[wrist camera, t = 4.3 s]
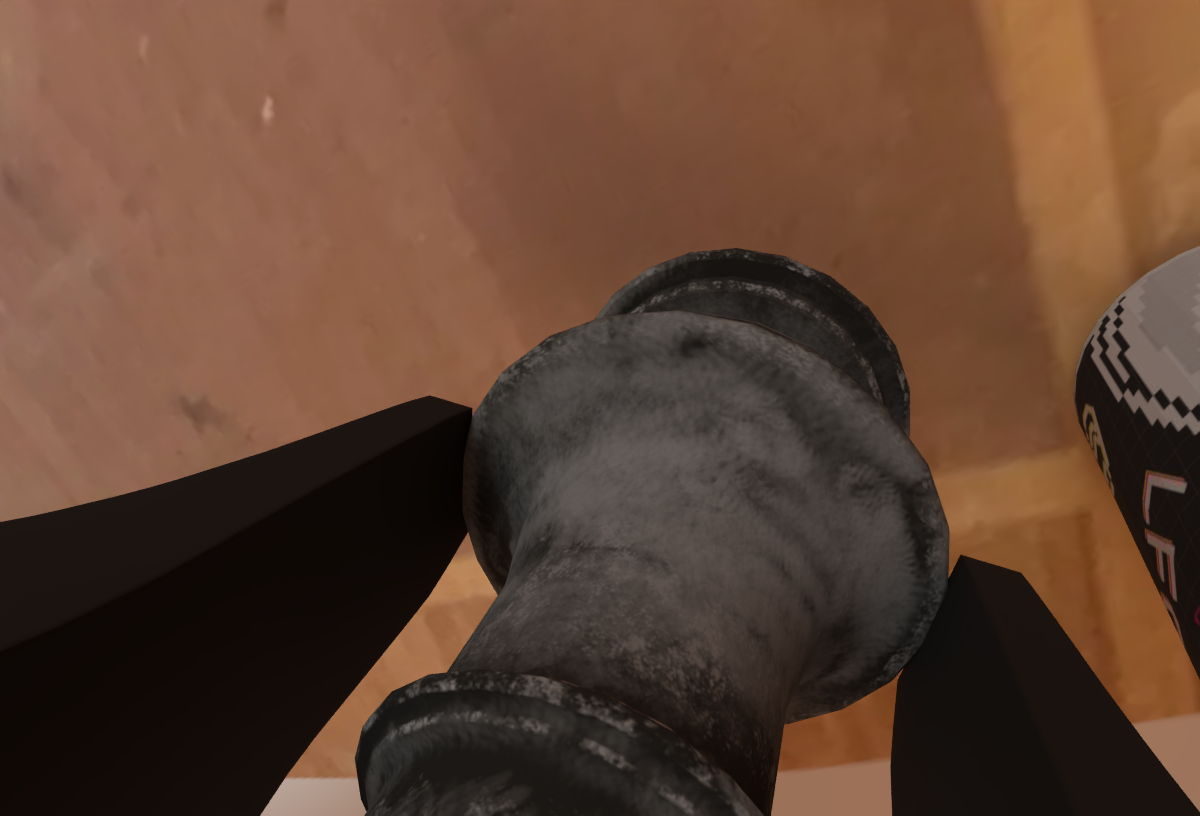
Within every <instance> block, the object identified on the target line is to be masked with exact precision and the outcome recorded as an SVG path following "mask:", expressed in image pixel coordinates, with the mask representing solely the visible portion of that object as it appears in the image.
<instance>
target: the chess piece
mask: <svg viewBox="0 0 1200 816" xmlns="http://www.w3.org/2000/svg"><path fill="white" fill-rule="evenodd" d="M909 435H910V388H909V385H908V382H907V379H906V376H905V373H904V370H903V367H902V364H901V361H900V357H899V354H898V351H897V348H896V346H895V344H894V343H893V341H892V340H891V339H890V337H889V336H888V334H887V333H886V331H885V330H884V329H883V327H882V326H881V324H880V323H879V321H878V320H877V319H876V317H875V316H874V314H873V313H872V311H871V310H870V309H869V307H868V306H866V305H865V304H864V303H863V302H861V301H860V300H859V299H858V298H856V297H855V296H854V295H853V294H851V293H850V292H849V291H848V290H847V289H845V288H844V287H843V286H842V285H840V284H839V283H838V282H837V281H835V280H834V279H833V278H832V277H831V276H828V275H826V274H824V273H822V272H819V271H817V270H815V269H813V268H810V267H808V266H806V265H804V264H801V263H799V262H797V261H795V260H792V259H790V258H788V257H786V256H781V255H775V254H769V253H762V252H756V251H750V250H744V249H738V248H733V249H723V250H712V251H702V252H691V253H687V254H685V255H682V256H679V257H677V258H674V259H671V260H669V261H666V262H664V263H661V264H658V265H656V266H653V267H650V268H648V269H647V270H645V271H644V272H643V273H641V274H640V275H639V276H637V277H636V278H634V279H633V280H632V281H630V282H629V283H628V284H626V285H625V286H624V287H622V288H621V289H620V290H618V291H617V292H616V293H615V294H614V295H613V296H612V297H611V298H610V300H609V301H608V302H607V304H606V305H605V306H604V308H603V309H602V310H601V312H600V313H599V314H598V316H597V317H596V319H595V320H594V321H591V322H588V323H585V324H582V325H579V326H577V327H574V328H571V329H568V330H565V331H562V332H560V333H557V334H554V335H551V336H549V337H548V338H547V339H545V340H544V341H543V342H541V343H540V344H539V345H537V346H536V347H535V348H533V349H532V350H531V351H529V352H528V353H527V354H525V355H524V356H523V357H521V358H520V359H519V360H517V361H516V362H515V363H513V364H512V365H511V366H509V367H508V368H507V369H505V370H504V371H503V372H502V373H501V375H500V376H499V378H498V379H497V380H496V382H495V383H494V385H493V386H492V388H491V389H490V391H489V392H488V394H487V395H486V397H485V398H484V400H483V401H482V402H481V404H480V405H479V407H478V408H477V410H476V411H475V413H474V414H473V416H472V420H471V424H470V427H469V431H468V435H467V440H466V447H465V453H464V462H463V494H462V504H463V516H464V519H465V523H466V526H467V529H468V532H469V535H470V539H471V542H472V545H473V548H474V552H475V555H476V558H477V560H478V562H479V564H480V566H481V567H482V569H483V571H484V572H485V574H486V576H487V578H488V579H489V581H490V583H491V584H492V586H493V588H494V590H495V591H496V593H497V595H498V596H497V598H496V599H495V601H494V602H493V604H492V605H491V607H490V608H489V610H488V611H487V613H486V614H485V616H484V617H483V619H482V620H481V622H480V623H479V625H478V626H477V628H476V629H475V631H474V632H473V634H472V635H471V637H470V638H469V640H468V641H467V643H466V644H465V646H464V647H463V649H462V650H461V652H460V653H459V655H458V656H457V658H456V659H455V661H454V662H453V664H452V665H451V667H450V668H449V670H448V671H447V673H439V674H430V675H427V676H425V677H423V678H420V679H418V680H416V681H414V682H412V683H410V684H407V685H405V686H403V687H401V688H399V689H397V690H394V691H392V692H391V693H390V694H389V696H388V697H387V698H386V699H385V700H384V701H383V702H382V704H381V705H380V706H379V707H378V708H377V709H376V711H375V712H374V713H373V714H372V715H371V716H370V717H369V719H368V720H367V722H366V723H365V724H364V726H363V728H362V732H361V736H360V740H359V744H358V748H357V752H356V756H355V763H356V769H357V776H358V782H359V789H360V796H361V800H362V802H363V805H364V807H365V809H366V811H367V813H366V814H365V816H771V810H772V804H773V797H774V790H775V783H776V777H777V770H778V763H779V756H780V749H781V742H782V735H783V728H784V724H789V723H793V722H797V721H800V720H804V719H808V718H812V717H816V716H819V715H823V714H827V713H831V712H834V711H838V710H841V709H844V708H846V707H847V706H849V705H851V704H853V703H854V702H856V701H858V700H860V699H861V698H863V697H865V696H867V695H868V694H870V693H872V692H874V691H875V690H877V689H879V688H881V687H882V686H884V685H886V684H888V683H889V682H891V681H892V680H893V679H894V678H895V677H896V676H897V675H898V673H899V672H900V671H901V670H902V669H903V668H904V667H905V666H906V665H907V664H908V663H909V661H910V660H911V659H912V658H913V657H914V655H915V654H916V653H917V651H918V650H919V648H920V647H921V646H922V644H923V642H924V639H925V637H926V635H927V633H928V631H929V629H930V627H931V625H932V622H933V620H934V618H935V616H936V614H937V612H938V610H939V608H940V605H941V603H942V601H943V599H944V597H945V595H946V593H947V590H948V571H949V526H948V523H947V520H946V517H945V514H944V511H943V508H942V505H941V502H940V499H939V496H938V493H937V490H936V487H935V484H934V481H933V478H932V475H931V472H930V469H929V465H928V464H927V462H926V461H925V460H924V458H923V457H922V455H921V454H920V453H919V451H918V450H917V449H916V447H915V446H914V444H913V443H912V442H911V440H910V439H909Z"/></svg>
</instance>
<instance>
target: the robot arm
mask: <svg viewBox="0 0 1200 816" xmlns="http://www.w3.org/2000/svg"><path fill="white" fill-rule="evenodd" d="M471 420H472V408H470V407H467V406H463V405H460V404H457V403H453V402H450V401H447V400H443V399H440V398H437V397H433V396H426V397H423V398H419V399H415V400H412V401H409V402H405V403H402V404H399V405H396V406H393V407H390V408H388V409H385V410H382V411H379V412H376V413H373V414H370V415H368V416H365V417H362V418H359V419H356V420H354V421H351V422H348V423H345V424H343V425H340V426H337V427H334V428H331V429H329V430H326V431H323V432H320V433H317V434H315V435H312V436H309V437H306V438H303V439H300V440H298V441H295V442H292V443H289V444H286V445H284V446H281V447H278V448H275V449H272V450H269V451H266V452H263V453H260V454H257V455H254V456H250V457H247V458H244V459H241V460H238V461H235V462H231V463H228V464H225V465H222V466H219V467H216V468H212V469H209V470H206V471H203V472H200V473H197V474H193V475H190V476H187V477H184V478H181V479H178V480H174V481H171V482H167V483H164V484H160V485H157V486H153V487H150V488H146V489H142V490H138V491H135V492H131V493H127V494H123V495H120V496H116V497H112V498H107V499H103V500H99V501H95V502H91V503H87V504H82V505H78V506H74V507H70V508H66V509H62V510H57V511H53V512H48V513H44V514H39V515H35V516H30V517H25V518H20V519H14V520H9V521H4V522H0V816H260V815H261V813H262V812H263V810H264V809H265V807H266V806H267V804H268V803H269V801H270V800H271V798H272V797H273V795H274V794H275V792H276V791H277V789H278V788H279V786H280V785H281V783H282V782H283V780H284V779H285V777H286V776H287V775H288V773H289V772H290V770H291V769H292V768H293V766H294V765H295V764H296V762H297V761H298V760H299V758H300V757H301V756H302V754H303V753H304V752H305V750H306V749H307V748H308V746H309V745H310V744H311V742H312V741H313V740H314V738H315V737H316V736H317V735H318V733H319V732H320V731H321V730H322V728H323V727H324V726H325V725H326V723H327V722H328V721H329V720H330V719H331V717H332V716H333V715H334V714H335V712H336V711H337V710H338V709H339V707H340V706H341V705H342V704H343V703H344V701H345V700H346V699H347V698H348V696H349V695H350V694H351V693H352V691H353V690H354V689H355V688H356V686H357V685H358V684H359V683H360V682H361V680H362V679H363V678H364V677H365V675H366V674H367V673H368V672H369V671H370V669H371V668H372V667H373V666H374V664H375V663H376V662H377V661H378V659H379V658H380V657H381V656H382V655H383V653H384V652H385V651H386V650H387V648H388V647H389V646H390V645H391V643H392V642H393V641H394V640H395V638H396V637H397V636H398V635H399V633H400V632H401V631H402V630H403V628H404V627H405V626H406V625H407V623H408V622H409V621H410V620H411V618H412V617H413V616H414V615H415V613H416V612H417V611H418V610H419V608H420V607H421V606H422V604H423V603H424V602H425V601H426V599H427V598H428V597H429V595H430V594H431V592H432V591H433V589H434V587H435V586H436V584H437V583H438V581H439V580H440V578H441V576H442V575H443V573H444V572H445V570H446V568H447V567H448V565H449V563H450V562H451V560H452V558H453V557H454V555H455V553H456V552H457V550H458V548H459V546H460V545H461V543H462V541H463V540H464V538H465V536H466V535H467V533H468V529H467V526H466V523H465V519H464V516H463V504H462V494H463V462H464V453H465V447H466V440H467V435H468V431H469V427H470V424H471ZM891 795H892V816H1200V812H1199V811H1198V809H1197V808H1196V807H1195V806H1194V804H1193V803H1192V802H1191V801H1190V799H1189V798H1188V797H1187V795H1186V794H1185V793H1184V792H1183V790H1182V789H1181V788H1180V787H1179V785H1178V784H1177V783H1176V781H1175V780H1174V779H1173V778H1172V776H1171V775H1170V774H1169V773H1168V771H1167V770H1166V769H1165V767H1164V766H1163V765H1162V763H1161V762H1160V761H1159V760H1158V758H1157V757H1156V756H1155V754H1154V753H1153V752H1152V750H1151V749H1150V748H1149V746H1148V745H1147V744H1146V743H1145V741H1144V740H1143V739H1142V737H1141V736H1140V734H1139V733H1138V732H1137V730H1136V729H1135V728H1134V726H1133V725H1132V724H1131V722H1130V721H1129V720H1128V718H1127V717H1126V716H1125V714H1124V713H1123V712H1122V710H1121V709H1120V708H1119V706H1118V705H1117V704H1116V702H1115V701H1114V699H1113V698H1112V697H1111V695H1110V694H1109V693H1108V691H1107V690H1106V689H1105V687H1104V686H1103V684H1102V683H1101V682H1100V680H1099V679H1098V678H1097V676H1096V675H1095V673H1094V672H1093V671H1092V669H1091V668H1090V666H1089V665H1088V664H1087V662H1086V661H1085V659H1084V658H1083V657H1082V655H1081V654H1080V652H1079V651H1078V650H1077V648H1076V647H1075V646H1074V644H1073V643H1072V641H1071V640H1070V639H1069V637H1068V636H1067V634H1066V633H1065V632H1064V630H1063V629H1062V627H1061V626H1060V625H1059V623H1058V622H1057V620H1056V619H1055V618H1054V616H1053V615H1052V613H1051V612H1050V611H1049V609H1048V608H1047V606H1046V605H1045V604H1044V602H1043V601H1042V600H1041V598H1040V597H1039V595H1038V594H1037V593H1036V591H1035V590H1034V589H1033V587H1032V586H1031V585H1030V584H1029V582H1028V581H1027V580H1026V578H1025V577H1024V576H1023V575H1022V573H1020V572H1017V571H1013V570H1010V569H1007V568H1003V567H1000V566H997V565H993V564H990V563H987V562H983V561H980V560H977V559H973V558H970V557H967V556H963V555H960V557H959V559H958V561H957V563H956V565H955V567H954V569H953V571H952V573H951V575H950V577H949V579H948V590H947V593H946V595H945V597H944V599H943V601H942V603H941V605H940V608H939V610H938V612H937V614H936V616H935V618H934V620H933V622H932V625H931V627H930V629H929V631H928V633H927V635H926V637H925V639H924V642H923V644H922V646H921V647H920V648H919V650H918V651H917V653H916V654H915V655H914V657H913V658H912V659H911V660H910V661H909V663H908V664H907V665H906V666H905V667H904V669H903V671H902V673H901V675H900V677H899V679H898V682H897V693H896V703H895V714H894V725H893V738H892V752H891Z"/></svg>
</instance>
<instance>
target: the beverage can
mask: <svg viewBox="0 0 1200 816" xmlns="http://www.w3.org/2000/svg"><path fill="white" fill-rule="evenodd" d="M1074 401H1075V406H1076V411H1077V416H1078V421H1079V423H1080V426H1081V428H1082V430H1083V432H1084V434H1085V436H1086V438H1087V440H1088V443H1089V445H1090V447H1091V449H1092V451H1093V453H1094V455H1095V458H1096V460H1097V462H1098V464H1099V466H1100V468H1101V470H1102V472H1103V475H1104V477H1105V479H1106V481H1107V483H1108V485H1109V487H1110V489H1111V492H1112V494H1113V496H1114V498H1115V500H1116V502H1117V504H1118V506H1119V509H1120V511H1121V513H1122V515H1123V517H1124V519H1125V521H1126V524H1127V526H1128V528H1129V530H1130V532H1131V534H1132V536H1133V538H1134V541H1135V543H1136V545H1137V547H1138V549H1139V551H1140V553H1141V555H1142V558H1143V560H1144V562H1145V564H1146V566H1147V568H1148V570H1149V572H1150V575H1151V577H1152V579H1153V581H1154V583H1155V585H1156V587H1157V589H1158V592H1159V594H1160V596H1161V598H1162V600H1163V602H1164V604H1165V607H1166V609H1167V611H1168V613H1169V615H1170V617H1171V619H1172V621H1173V624H1174V626H1175V628H1176V630H1177V632H1178V634H1179V636H1180V638H1181V641H1182V643H1183V645H1184V647H1185V649H1186V651H1187V653H1188V655H1189V658H1190V660H1191V662H1192V664H1193V666H1194V668H1195V670H1196V672H1197V675H1198V677H1199V679H1200V246H1198V247H1195V248H1193V249H1191V250H1188V251H1186V252H1183V253H1181V254H1179V255H1177V256H1175V257H1173V258H1172V259H1170V260H1168V261H1167V262H1165V263H1163V264H1161V265H1160V266H1158V267H1156V268H1155V269H1153V270H1151V271H1149V272H1148V273H1146V274H1145V275H1144V276H1142V277H1141V278H1140V279H1139V280H1138V281H1136V282H1135V283H1134V284H1133V285H1132V286H1130V287H1129V288H1128V289H1127V290H1125V291H1124V292H1123V293H1122V294H1121V295H1119V296H1118V298H1117V299H1116V300H1115V301H1114V302H1113V303H1112V304H1111V306H1110V307H1109V308H1108V309H1107V310H1106V311H1105V313H1104V314H1103V315H1102V316H1101V317H1100V318H1099V319H1098V321H1097V323H1096V324H1095V326H1094V328H1093V330H1092V331H1091V333H1090V335H1089V336H1088V338H1087V340H1086V342H1085V343H1084V345H1083V348H1082V351H1081V354H1080V357H1079V361H1078V364H1077V367H1076V370H1075V382H1074Z"/></svg>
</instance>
